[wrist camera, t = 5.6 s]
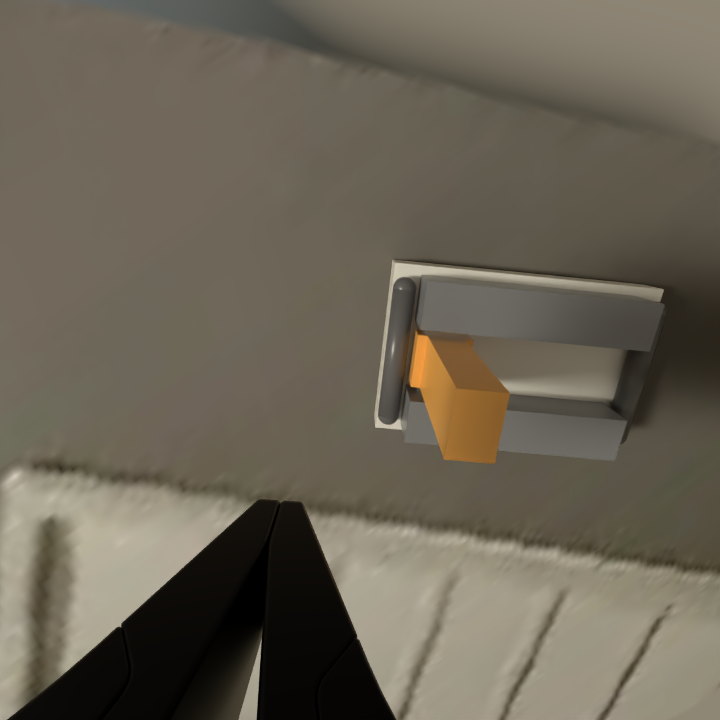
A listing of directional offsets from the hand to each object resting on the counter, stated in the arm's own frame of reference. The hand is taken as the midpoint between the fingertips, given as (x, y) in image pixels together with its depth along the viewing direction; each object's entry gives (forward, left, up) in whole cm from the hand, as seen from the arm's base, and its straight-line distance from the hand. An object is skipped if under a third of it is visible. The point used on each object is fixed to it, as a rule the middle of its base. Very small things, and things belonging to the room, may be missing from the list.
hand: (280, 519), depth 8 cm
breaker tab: (-5, 0, -12) cm, 13 cm away
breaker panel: (-9, 0, -14) cm, 16 cm away
